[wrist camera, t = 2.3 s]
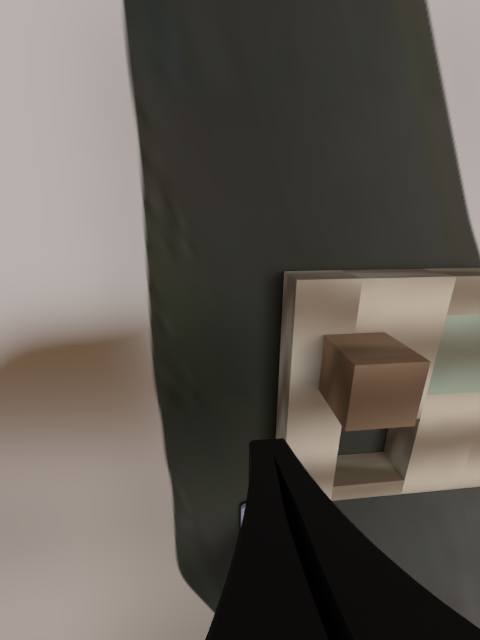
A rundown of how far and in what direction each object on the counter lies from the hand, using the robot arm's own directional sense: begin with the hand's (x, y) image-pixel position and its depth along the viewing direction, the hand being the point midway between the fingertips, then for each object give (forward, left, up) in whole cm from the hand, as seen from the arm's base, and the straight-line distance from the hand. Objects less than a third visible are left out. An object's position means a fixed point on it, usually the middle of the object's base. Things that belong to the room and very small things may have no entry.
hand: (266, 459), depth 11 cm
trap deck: (-4, -14, -10) cm, 18 cm away
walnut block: (0, -7, -7) cm, 10 cm away
